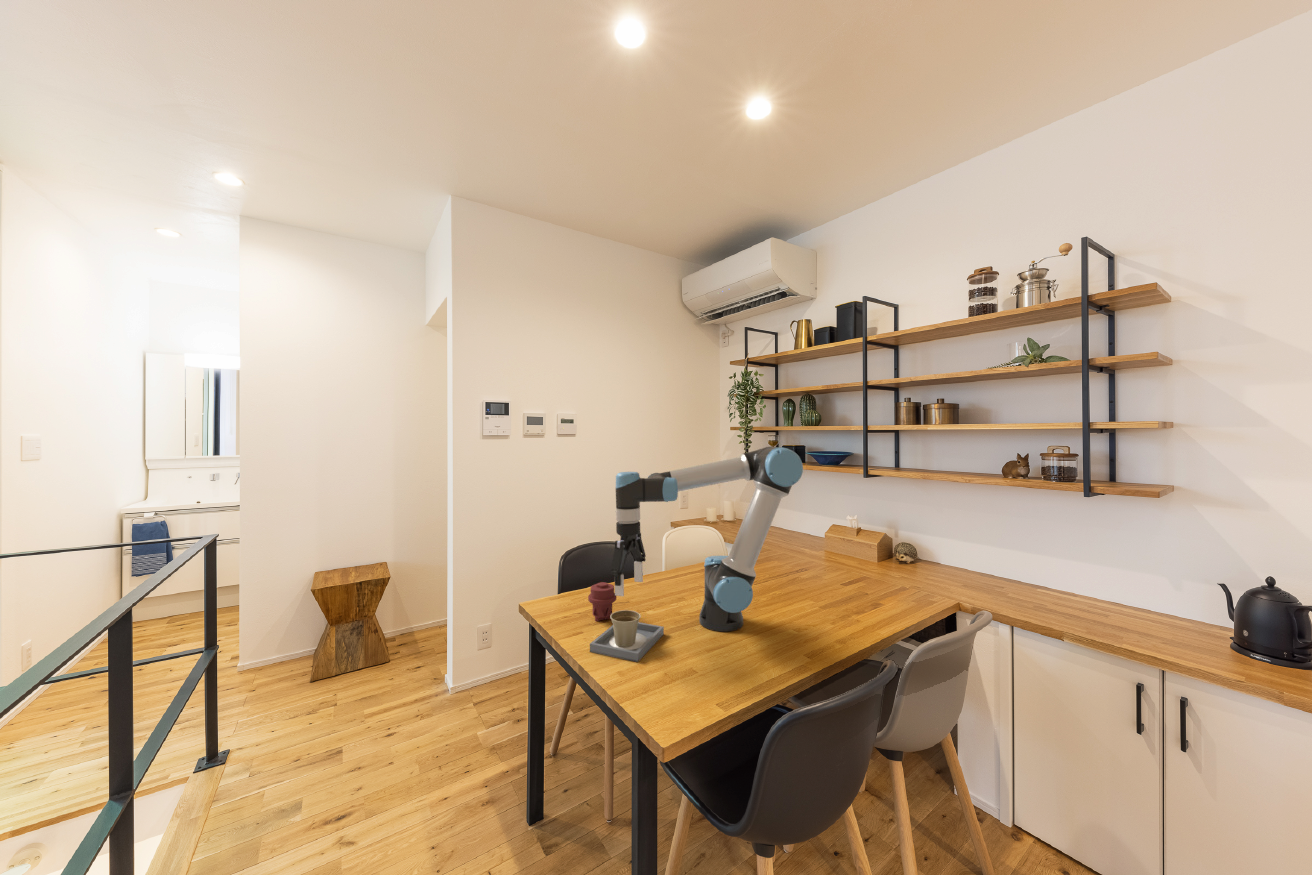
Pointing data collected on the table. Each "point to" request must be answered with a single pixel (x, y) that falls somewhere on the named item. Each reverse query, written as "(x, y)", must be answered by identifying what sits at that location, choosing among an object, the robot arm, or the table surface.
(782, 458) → the robot arm
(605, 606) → the mechanical component
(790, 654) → the table surface
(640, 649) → the housing tray
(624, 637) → the flower pot
